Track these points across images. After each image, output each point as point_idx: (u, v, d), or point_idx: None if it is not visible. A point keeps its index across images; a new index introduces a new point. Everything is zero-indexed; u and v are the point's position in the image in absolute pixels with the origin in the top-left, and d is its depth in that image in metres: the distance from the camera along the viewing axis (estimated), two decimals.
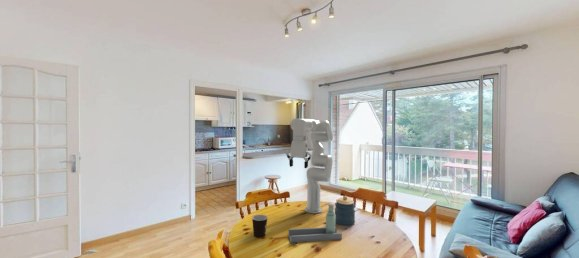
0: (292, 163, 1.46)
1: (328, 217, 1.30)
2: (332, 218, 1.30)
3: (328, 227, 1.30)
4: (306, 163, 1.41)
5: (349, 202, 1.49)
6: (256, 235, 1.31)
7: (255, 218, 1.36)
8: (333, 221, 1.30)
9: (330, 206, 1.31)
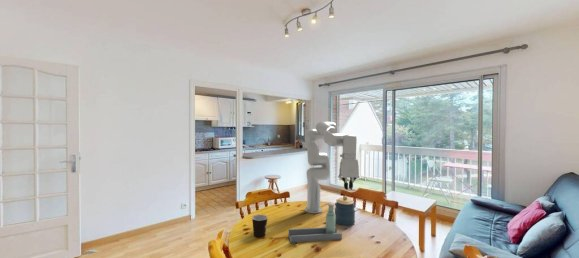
0: (350, 186, 1.33)
1: (328, 217, 1.30)
2: (332, 218, 1.30)
3: (328, 227, 1.30)
4: None
5: (349, 202, 1.49)
6: (256, 235, 1.31)
7: (255, 218, 1.36)
8: (333, 221, 1.30)
9: (330, 206, 1.31)
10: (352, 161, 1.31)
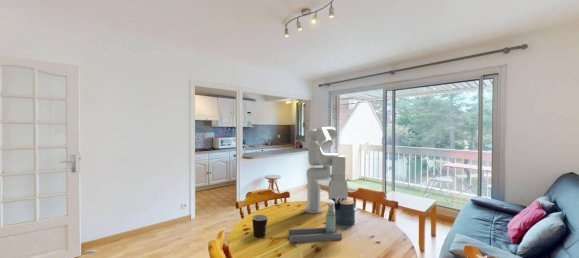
0: None
1: (328, 217, 1.30)
2: (332, 218, 1.30)
3: (328, 227, 1.30)
4: None
5: (349, 202, 1.49)
6: (256, 235, 1.31)
7: (255, 218, 1.36)
8: (333, 221, 1.30)
9: (330, 206, 1.31)
10: (341, 182, 1.30)
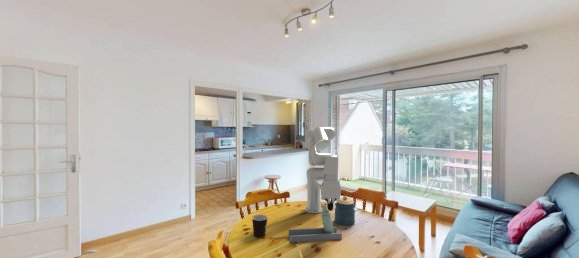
0: None
1: (323, 218, 1.30)
2: (327, 218, 1.29)
3: (326, 227, 1.30)
4: None
5: (349, 202, 1.49)
6: (256, 235, 1.31)
7: (255, 218, 1.36)
8: (329, 220, 1.30)
9: (323, 206, 1.30)
10: (334, 182, 1.29)
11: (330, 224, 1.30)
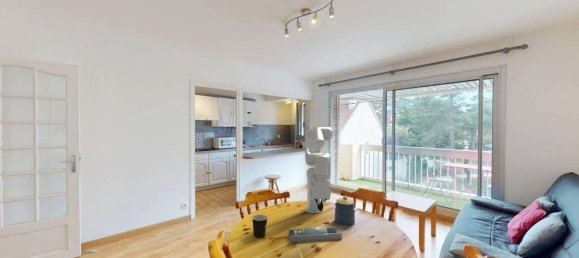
0: None
1: None
2: (308, 234, 1.28)
3: None
4: None
5: (349, 202, 1.49)
6: (256, 235, 1.31)
7: (255, 218, 1.36)
8: (311, 233, 1.28)
9: None
10: (323, 182, 1.29)
11: (315, 232, 1.28)
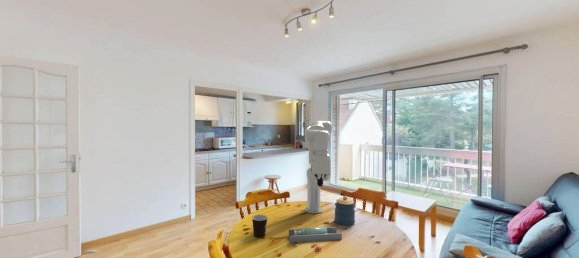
0: None
1: None
2: (308, 234, 1.28)
3: None
4: None
5: (349, 202, 1.49)
6: (256, 235, 1.31)
7: (255, 218, 1.36)
8: (311, 233, 1.28)
9: None
10: (323, 157, 1.29)
11: (315, 232, 1.29)
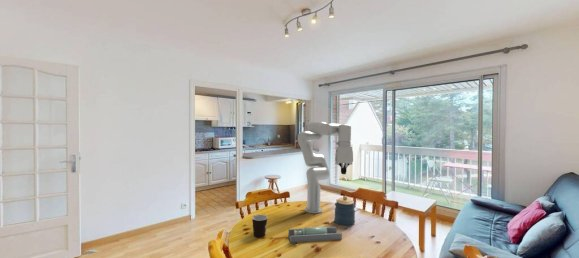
0: None
1: None
2: (308, 234, 1.28)
3: None
4: (341, 169, 1.46)
5: (349, 202, 1.49)
6: (256, 235, 1.31)
7: (255, 218, 1.36)
8: (311, 233, 1.28)
9: None
10: (347, 148, 1.43)
11: (315, 232, 1.28)
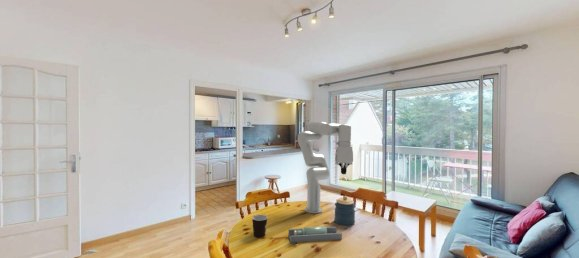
0: None
1: None
2: (308, 234, 1.28)
3: None
4: (341, 169, 1.47)
5: (349, 202, 1.49)
6: (256, 235, 1.31)
7: (255, 218, 1.36)
8: (311, 232, 1.28)
9: None
10: (347, 148, 1.43)
11: (315, 232, 1.29)
